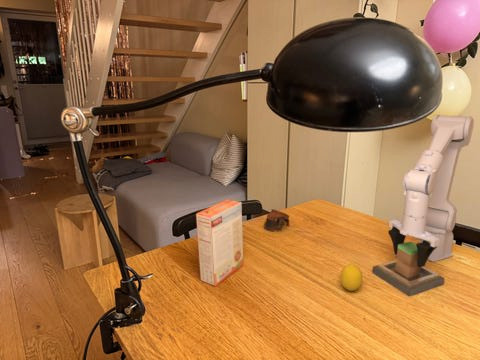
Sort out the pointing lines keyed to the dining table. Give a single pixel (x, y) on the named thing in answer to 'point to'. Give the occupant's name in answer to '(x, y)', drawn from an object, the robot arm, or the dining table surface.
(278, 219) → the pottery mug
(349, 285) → the lemon
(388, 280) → the gray square tray
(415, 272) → the brown and green block
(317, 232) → the dining table surface
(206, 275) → the cracker box
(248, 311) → the dining table surface
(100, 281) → the dining table surface
